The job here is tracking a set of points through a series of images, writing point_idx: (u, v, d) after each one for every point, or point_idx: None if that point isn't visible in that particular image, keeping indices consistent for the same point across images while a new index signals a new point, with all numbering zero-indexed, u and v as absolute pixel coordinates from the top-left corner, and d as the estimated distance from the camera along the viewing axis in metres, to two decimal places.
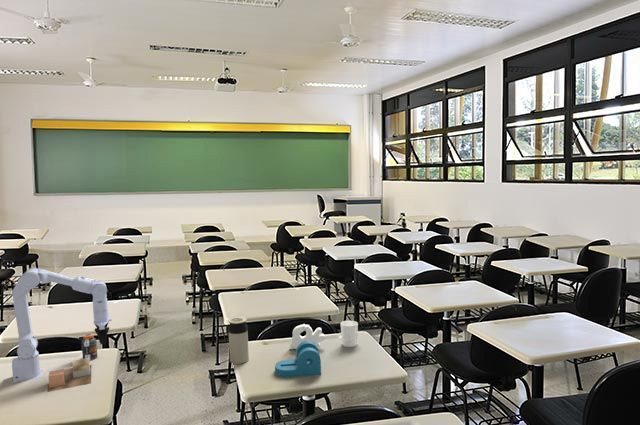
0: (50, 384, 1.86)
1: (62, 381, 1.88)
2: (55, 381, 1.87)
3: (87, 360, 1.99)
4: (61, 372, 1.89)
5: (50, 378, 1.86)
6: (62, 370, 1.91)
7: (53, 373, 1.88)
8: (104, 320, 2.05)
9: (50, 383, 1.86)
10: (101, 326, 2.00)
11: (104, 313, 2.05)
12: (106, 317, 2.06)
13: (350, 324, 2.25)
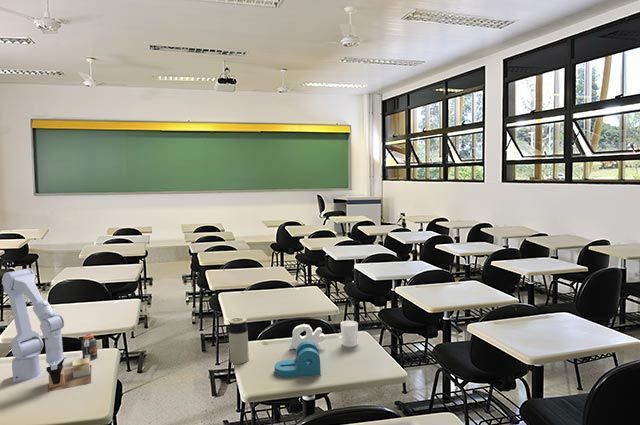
0: (50, 384, 1.86)
1: (62, 381, 1.88)
2: None
3: (87, 360, 1.99)
4: (61, 372, 1.89)
5: (50, 378, 1.86)
6: (62, 370, 1.91)
7: None
8: (57, 358, 1.86)
9: (50, 383, 1.86)
10: (53, 366, 1.82)
11: (57, 351, 1.86)
12: (60, 355, 1.87)
13: (350, 324, 2.25)
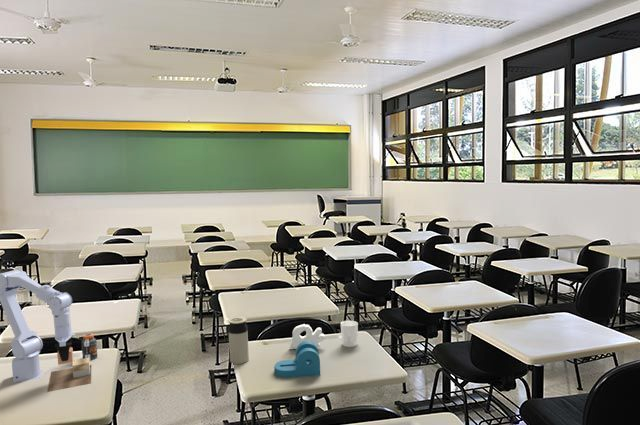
0: (59, 361, 1.89)
1: (70, 358, 1.90)
2: None
3: (87, 360, 1.99)
4: (70, 350, 1.91)
5: (59, 355, 1.89)
6: (71, 348, 1.93)
7: None
8: (66, 336, 1.89)
9: (59, 360, 1.89)
10: (61, 343, 1.84)
11: (66, 328, 1.89)
12: (68, 332, 1.90)
13: (350, 324, 2.25)
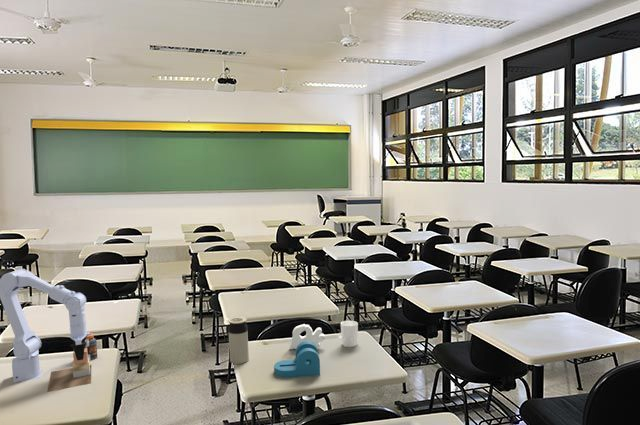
0: (74, 361, 1.95)
1: (86, 359, 1.96)
2: None
3: None
4: (85, 350, 1.97)
5: (74, 355, 1.94)
6: (86, 348, 1.99)
7: None
8: (81, 334, 1.95)
9: (74, 360, 1.95)
10: (77, 341, 1.90)
11: (81, 327, 1.94)
12: (83, 331, 1.95)
13: (350, 324, 2.25)
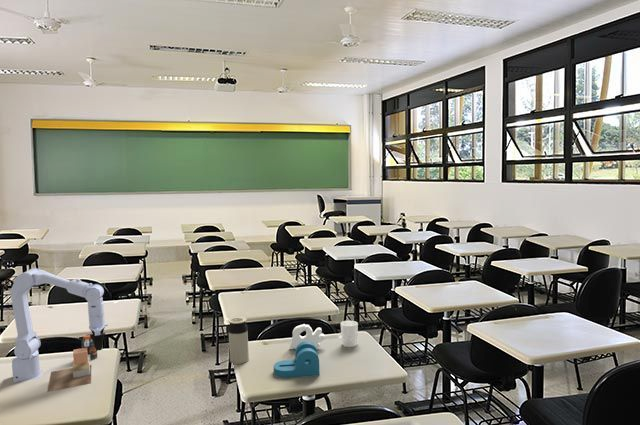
0: (74, 361, 1.95)
1: (86, 359, 1.96)
2: (79, 359, 1.95)
3: None
4: (85, 350, 1.97)
5: (74, 355, 1.94)
6: (86, 348, 1.99)
7: (77, 351, 1.97)
8: (100, 325, 1.97)
9: (74, 360, 1.95)
10: (97, 332, 1.93)
11: (100, 318, 1.97)
12: (102, 322, 1.98)
13: (350, 324, 2.25)
